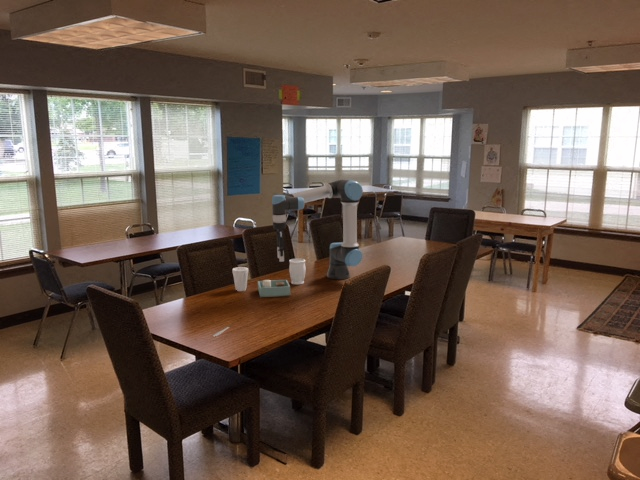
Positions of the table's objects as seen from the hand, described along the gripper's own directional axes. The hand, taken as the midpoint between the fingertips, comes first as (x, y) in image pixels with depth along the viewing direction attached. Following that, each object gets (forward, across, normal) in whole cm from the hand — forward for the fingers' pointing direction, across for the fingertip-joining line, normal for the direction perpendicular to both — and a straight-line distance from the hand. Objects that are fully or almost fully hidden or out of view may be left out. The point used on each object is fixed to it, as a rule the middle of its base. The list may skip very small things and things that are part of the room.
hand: (280, 259), depth 300 cm
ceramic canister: (+19, 0, -9) cm, 21 cm away
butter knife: (+20, +53, -32) cm, 65 cm away
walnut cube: (+19, 0, -1) cm, 19 cm away
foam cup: (+20, -10, -24) cm, 33 cm away
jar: (+21, -18, +12) cm, 30 cm away
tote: (+20, 0, -5) cm, 21 cm away
